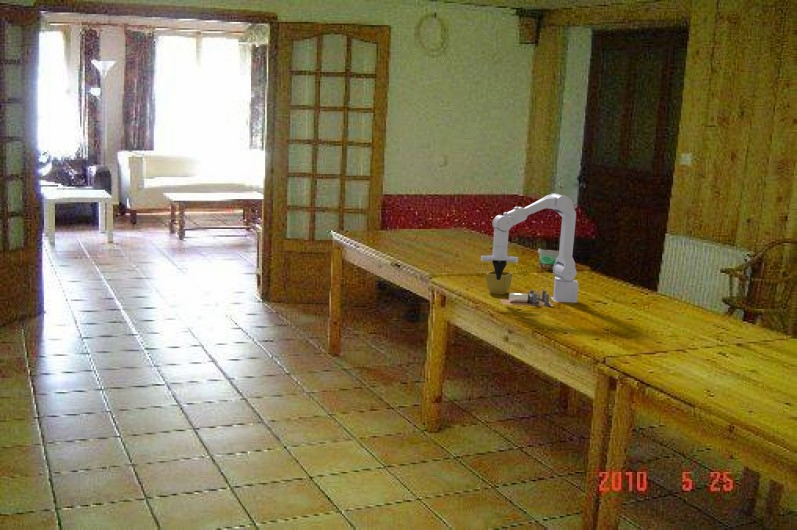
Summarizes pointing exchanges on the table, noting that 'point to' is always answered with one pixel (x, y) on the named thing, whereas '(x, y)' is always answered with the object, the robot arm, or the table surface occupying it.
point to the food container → (547, 258)
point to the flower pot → (498, 282)
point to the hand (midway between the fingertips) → (498, 279)
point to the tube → (522, 298)
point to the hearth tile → (506, 302)
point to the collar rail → (543, 298)
